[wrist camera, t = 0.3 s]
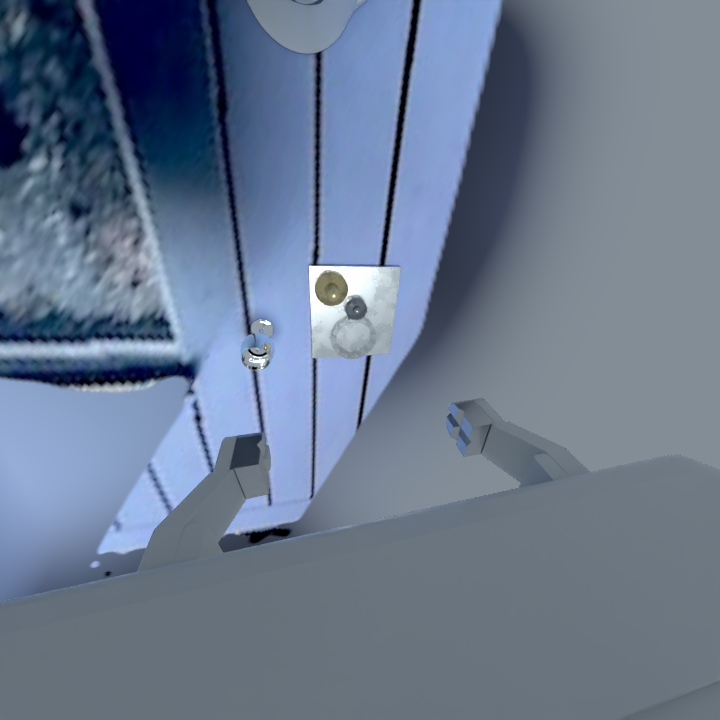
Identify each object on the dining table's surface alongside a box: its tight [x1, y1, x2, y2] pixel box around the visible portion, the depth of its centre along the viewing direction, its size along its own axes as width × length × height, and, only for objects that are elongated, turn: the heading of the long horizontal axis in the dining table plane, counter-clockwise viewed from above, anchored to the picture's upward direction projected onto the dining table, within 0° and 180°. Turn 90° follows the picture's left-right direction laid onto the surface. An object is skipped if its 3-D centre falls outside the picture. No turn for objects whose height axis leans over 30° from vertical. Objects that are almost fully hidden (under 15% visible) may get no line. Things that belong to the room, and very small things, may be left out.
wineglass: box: [240, 319, 275, 370], centre depth 52 cm, size 6×6×12 cm
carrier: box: [309, 265, 401, 359], centre depth 57 cm, size 20×18×4 cm
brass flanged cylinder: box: [314, 271, 348, 306], centre depth 52 cm, size 6×6×6 cm
